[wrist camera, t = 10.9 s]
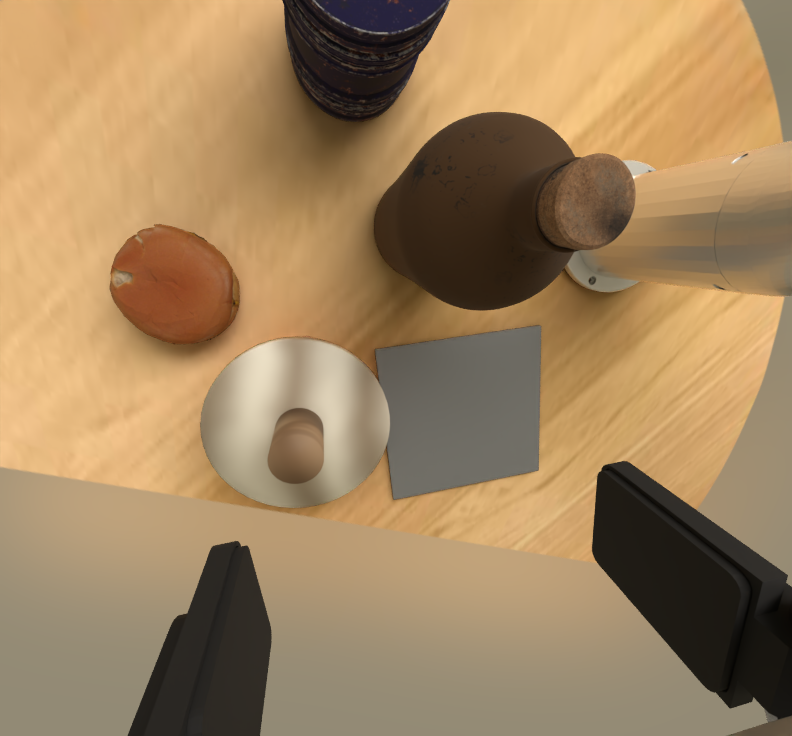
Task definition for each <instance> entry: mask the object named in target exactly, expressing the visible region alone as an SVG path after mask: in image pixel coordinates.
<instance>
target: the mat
mask: <svg viewBox="0 0 792 736" xmlns="http://www.w3.org/2000/svg"><path fill="white" fill-rule="evenodd" d="M375 355H376V363H377V371H378V380H379V384H380V386H381V388H382V390H383V392H384V395H385V398H386V400H387V403H388V408H389V414H390V431H389V437H388V442H387V453H388V461H389V469H390V477H391V485H392V493H393V499H394V500H396V499H400V498H405V497H410V496H415V495H420V494H425V493H430V492H435V491H440V490H445V489H450V488H454V487H459V486H464V485H469V484H474V483H479V482H484V481H489V480H494V479H499V478H504V477H509V476H513V475H518V474H523V473H528V472H533V471H538V470H539V418H540V364H541V326H540V325H536V326H529V327H522V328H515V329H509V330H502V331H495V332H488V333H482V334H475V335H468V336H461V337H454V338H448V339H441V340H434V341H427V342H420V343H414V344H407V345H400V346H393V347H386V348H380V349H375Z"/></svg>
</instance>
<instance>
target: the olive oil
mask: <svg viewBox="0 0 792 736" xmlns="http://www.w3.org/2000/svg"><path fill="white" fill-rule="evenodd" d="M635 198H636V190H635V183H634V179H633V176H632V174H631V172H630V170H629V169H628V167H627V166H626V165H625V163H623V162H622V161H621V160H620V159H618V158H617V157H615V156H612V155H609V154H592V155H589V156H586V157H582V158H581V157H575V156H574V154H573V152H572V151H571V149H570V148H569V146H568V145H567V143H566V142H565V141H564V140H563V139H562V138H561V137H560V136H559V135H558V134H557V133H556V132H555V131H554V130H552V129H551V128H550V127H548V126H547V125H545V124H544V123H542V122H540V121H538V120H536V119H533V118H531V117H528V116H525V115H521V114H515V113H507V112H488V113H481V114H476V115H472V116H468V117H466V118H463V119H460V120H458V121H456V122H454V123H452V124H450V125H448V126H447V127H445V128H444V129H442V130H441V131H439V132H438V133H437V134H436V135H434V136H433V137H432V138H431V139H430V140H429V141H428V142H427V143H426V144H425V145H424V146H423V147H422V148H421V149H420V151H419V152H418V153H417V154H416V156H415V157H414V158H413V160H412V161H411V162H410V164H409V165H408V166H407V168H406V169H405V170H404V172H403V173H402V174H401V175H400V177H399V178H398V179H397V180H396V182H395V183H394V184H393V185H392V186H391V187H390V188H389V189H388V190H387V191H386V193H385V194H384V195H383V197H382V199H381V201H380V203H379V205H378V207H377V210H376V214H375V220H374V234H375V240H376V244H377V247H378V249H379V251H380V253H381V255H382V257H383V258H384V260H385V261H386V262H387V263H388V264H389V265H390V266H391V267H392V268H393V269H394V270H395V271H397V272H398V273H400V274H402V275H403V276H405V277H407V278H409V279H410V280H412V281H413V282H415V283H416V284H418V285H419V286H421V287H422V288H423V289H425V290H426V291H428V292H429V293H430V294H432V295H433V296H435V297H436V298H438V299H440V300H442V301H443V302H446V303H448V304H450V305H453V306H456V307H459V308H463V309H469V310H494V309H500V308H504V307H508V306H511V305H514V304H517V303H520V302H522V301H524V300H526V299H528V298H530V297H532V296H534V295H535V294H537V293H539V292H540V291H542V290H543V289H544V288H546V287H547V286H548V285H549V284H550V283H551V282H552V281H553V280H554V279H555V278H556V277H557V276H558V275H559V274H560V273H561V272H562V270H563V269H564V268H565V266H566V265H567V264H568V262H569V260H570V259H571V257H572V255H573V253H574V252H576V251H579V250H594V249H598V248H601V247H604V246H606V245H608V244H609V243H611V242H612V241H614V240H615V239H616V238H617V237H618V236H619V235H620V234H621V233H622V232H623V230H624V229H625V228H626V226H627V224H628V223H629V221H630V218H631V216H632V213H633V210H634V206H635Z"/></svg>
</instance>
